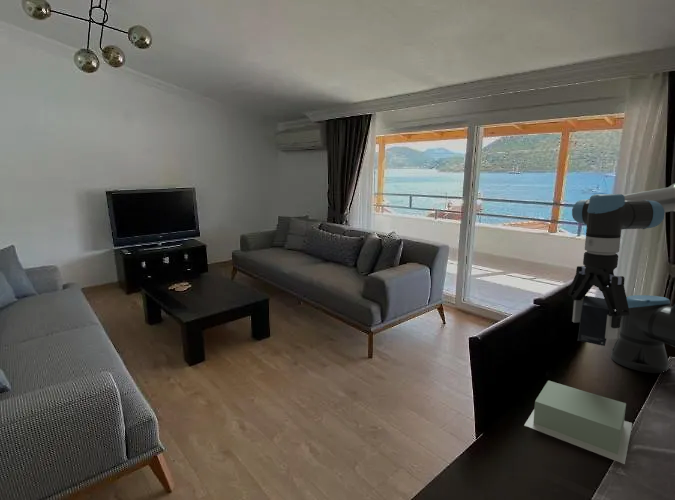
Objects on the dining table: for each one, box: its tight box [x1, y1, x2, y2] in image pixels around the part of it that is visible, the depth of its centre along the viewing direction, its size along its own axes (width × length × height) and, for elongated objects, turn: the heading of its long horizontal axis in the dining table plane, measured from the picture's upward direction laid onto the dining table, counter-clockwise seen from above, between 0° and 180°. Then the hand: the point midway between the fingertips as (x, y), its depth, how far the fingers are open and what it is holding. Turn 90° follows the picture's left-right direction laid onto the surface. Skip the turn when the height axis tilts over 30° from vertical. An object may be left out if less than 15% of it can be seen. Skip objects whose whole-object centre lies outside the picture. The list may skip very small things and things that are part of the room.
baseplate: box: [523, 409, 633, 465], centre depth 91 cm, size 18×20×1 cm
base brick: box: [533, 380, 627, 454], centre depth 91 cm, size 13×17×6 cm
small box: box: [577, 295, 610, 347], centre depth 100 cm, size 11×6×10 cm, turn 143°
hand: (593, 329), depth 101 cm, fingers closed on small box, 11 cm apart
